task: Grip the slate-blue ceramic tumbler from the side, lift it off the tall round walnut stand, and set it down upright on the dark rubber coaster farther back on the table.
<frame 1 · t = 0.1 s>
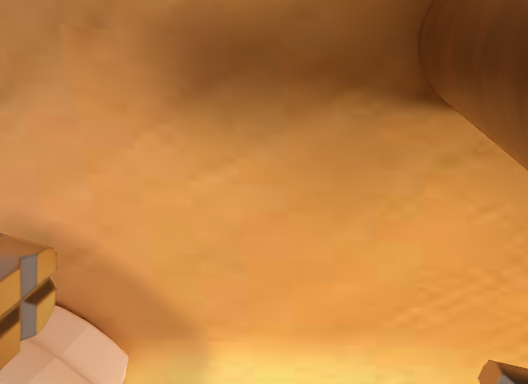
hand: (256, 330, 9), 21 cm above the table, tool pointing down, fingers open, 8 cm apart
bowl: (74, 351, 38), on the table
stand: (492, 41, 26), on the table
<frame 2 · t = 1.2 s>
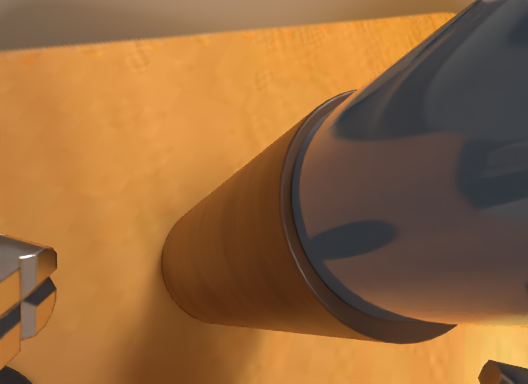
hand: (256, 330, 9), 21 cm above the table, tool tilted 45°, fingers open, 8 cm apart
tumbler: (393, 204, 14), point 18 cm above the table, touching stand
stand: (222, 261, 30), on the table
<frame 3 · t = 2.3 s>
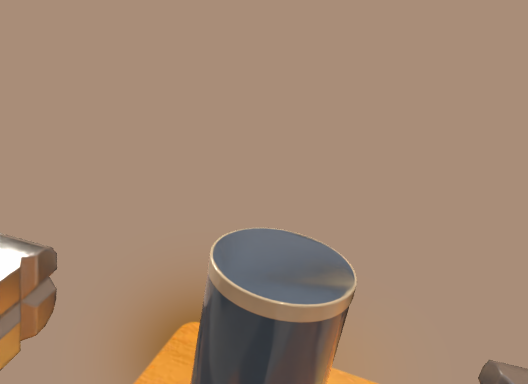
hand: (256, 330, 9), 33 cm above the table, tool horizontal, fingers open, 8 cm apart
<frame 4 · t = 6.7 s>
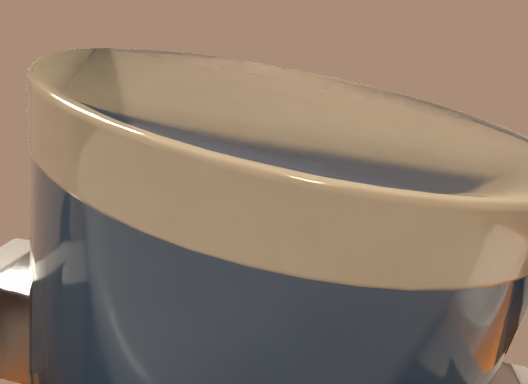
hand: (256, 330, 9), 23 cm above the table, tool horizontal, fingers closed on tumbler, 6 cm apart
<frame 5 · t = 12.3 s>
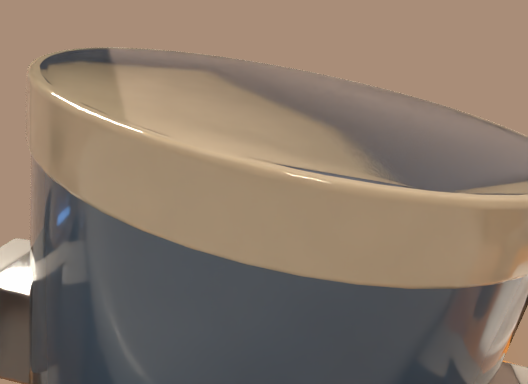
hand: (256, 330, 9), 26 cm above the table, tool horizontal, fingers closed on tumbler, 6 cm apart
when the fingers open (6 cm above the table, at t = 18.2 s): tumbler stays where it is, resting on coaster.
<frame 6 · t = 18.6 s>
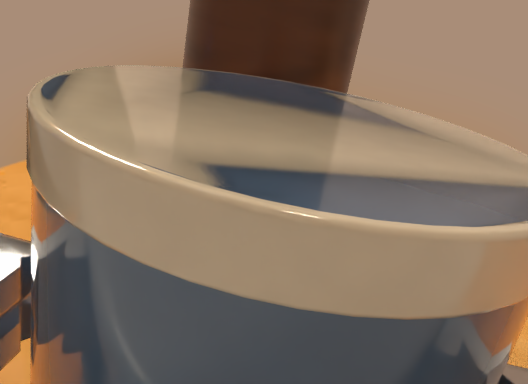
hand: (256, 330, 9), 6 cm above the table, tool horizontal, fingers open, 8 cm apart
stand: (236, 242, 25), on the table
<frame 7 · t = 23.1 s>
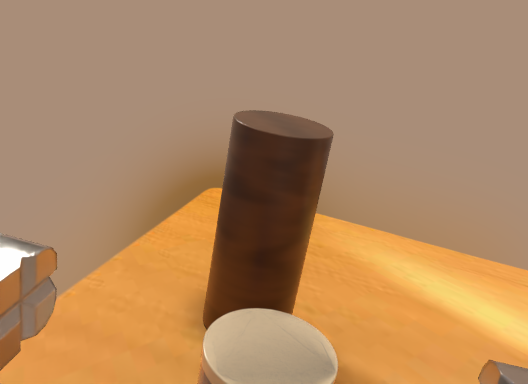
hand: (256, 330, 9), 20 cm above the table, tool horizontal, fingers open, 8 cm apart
stand: (246, 321, 42), on the table
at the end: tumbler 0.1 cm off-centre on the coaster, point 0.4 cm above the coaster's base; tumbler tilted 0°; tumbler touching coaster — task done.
